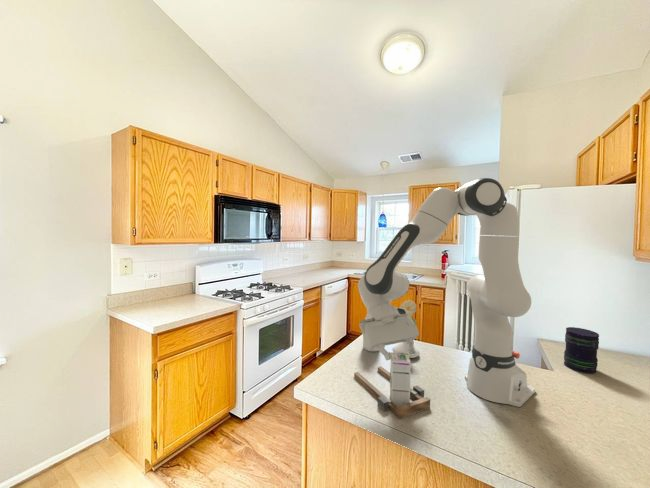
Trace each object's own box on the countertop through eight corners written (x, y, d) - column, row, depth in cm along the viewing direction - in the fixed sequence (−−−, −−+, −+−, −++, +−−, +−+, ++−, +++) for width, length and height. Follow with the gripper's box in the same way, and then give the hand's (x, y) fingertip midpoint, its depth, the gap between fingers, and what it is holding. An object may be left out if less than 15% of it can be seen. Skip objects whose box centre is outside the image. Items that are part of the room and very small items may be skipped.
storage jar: (561, 366, 110) (563, 330, 109) (565, 359, 116) (567, 325, 116) (596, 377, 102) (598, 338, 102) (598, 368, 109) (600, 332, 108)
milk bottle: (380, 352, 120) (381, 308, 119) (362, 351, 121) (363, 307, 120) (379, 345, 127) (380, 303, 126) (363, 344, 129) (364, 302, 128)
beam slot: (385, 368, 106) (385, 362, 106) (434, 405, 84) (435, 398, 84) (349, 377, 99) (349, 371, 99) (393, 420, 77) (393, 412, 77)
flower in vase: (388, 349, 123) (389, 295, 122) (411, 348, 125) (413, 294, 124) (401, 363, 110) (403, 303, 109) (426, 361, 112) (428, 302, 111)
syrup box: (410, 408, 83) (411, 361, 82) (390, 405, 83) (391, 359, 83) (407, 396, 88) (409, 353, 87) (388, 394, 89) (390, 351, 88)
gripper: (361, 315, 87) (379, 358, 79) (410, 309, 96) (430, 346, 88) (353, 325, 91) (369, 366, 83) (401, 317, 100) (419, 354, 92)
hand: (401, 356), depth 85 cm, fingers open, 8 cm apart
